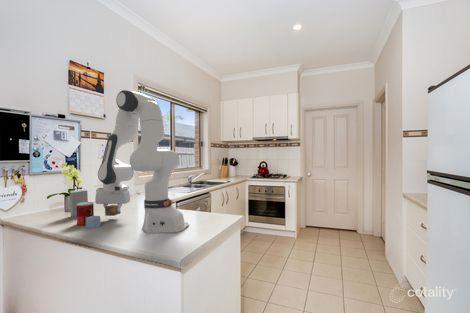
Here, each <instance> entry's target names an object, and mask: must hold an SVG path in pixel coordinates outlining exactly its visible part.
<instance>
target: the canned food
mask: <svg viewBox="0 0 470 313" xmlns="http://www.w3.org/2000/svg"><path fill="white" fill-rule="evenodd" d="M94 208H95V206H94V202H93V201H88V202H82V203H78V204H77V205H76V211H77V217H76V224H77V226H86V218H88V217H91V216H95V215H94V214H95V213H94Z"/></svg>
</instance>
